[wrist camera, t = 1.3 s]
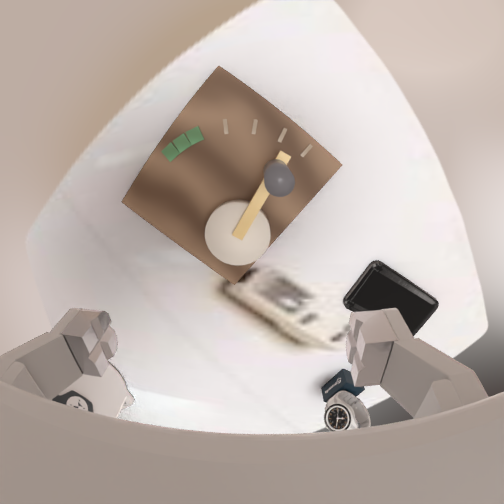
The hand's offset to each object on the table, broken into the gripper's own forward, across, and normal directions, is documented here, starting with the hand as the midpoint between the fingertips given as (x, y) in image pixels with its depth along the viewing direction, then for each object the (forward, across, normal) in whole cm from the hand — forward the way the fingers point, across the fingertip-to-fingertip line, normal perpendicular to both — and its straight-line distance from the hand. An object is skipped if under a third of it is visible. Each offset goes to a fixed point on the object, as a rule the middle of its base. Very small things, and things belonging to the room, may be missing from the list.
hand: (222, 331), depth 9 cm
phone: (+27, -19, +18) cm, 38 cm away
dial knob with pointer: (+24, +1, +3) cm, 24 cm away
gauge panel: (+26, +3, 0) cm, 26 cm away
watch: (+26, -12, +34) cm, 45 cm away
